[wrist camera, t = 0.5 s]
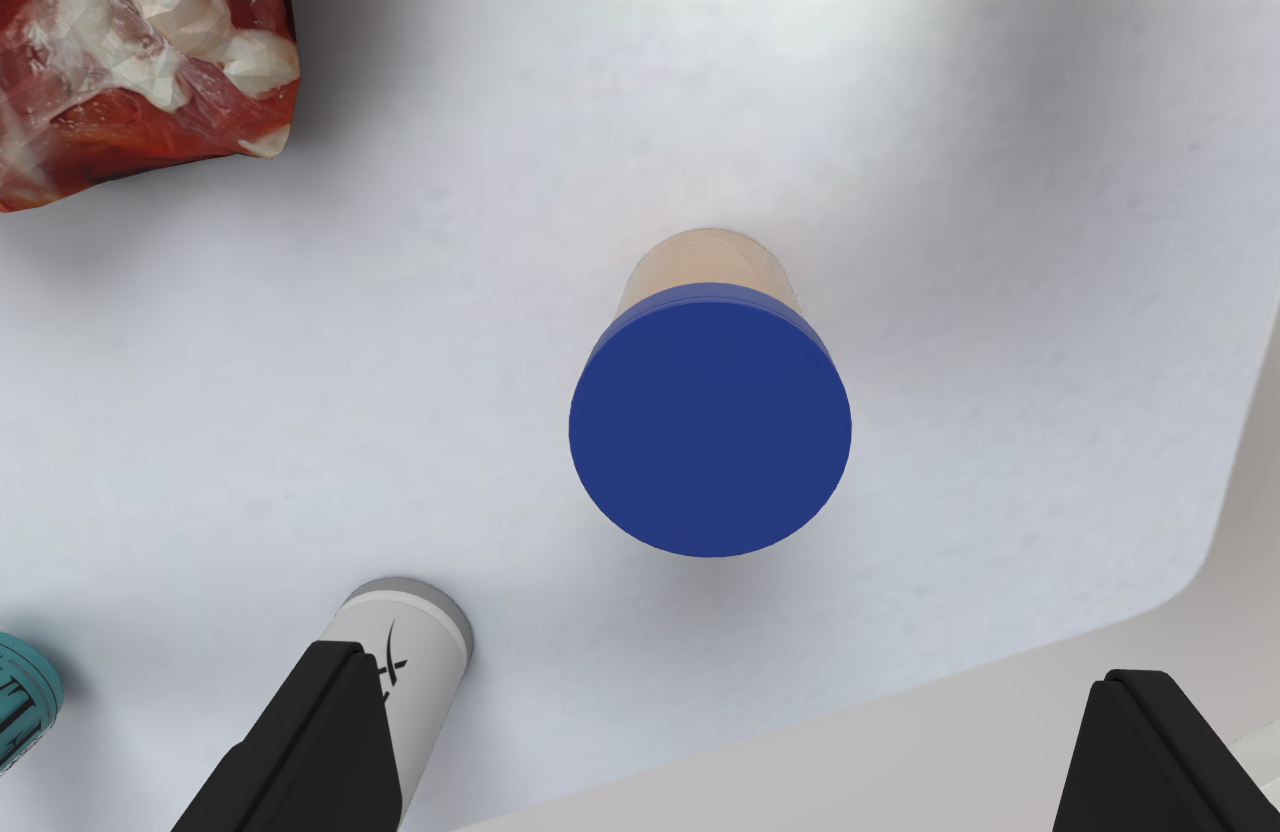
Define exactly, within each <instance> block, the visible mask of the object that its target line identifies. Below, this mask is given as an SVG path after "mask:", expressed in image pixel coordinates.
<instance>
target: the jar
mask: <svg viewBox="0 0 1280 832" xmlns="http://www.w3.org/2000/svg"><path fill="white" fill-rule="evenodd" d="M706 282H715V283H729V284H734V285H739V286H744V287H748V288H751V289H754V290H757V291H760V292H763V293H765V294H767V295H769V296H771V297H773V298H775V299H777V300H779V301H781V302H782V303H784V304H785V305H787V306H788V307H790V308H791V309H793V310H794V311H795V312H796V313H797V314H799V315H800V316H801V317H802V318H803V319H804V316H803V314H802V311H801V309H800V307H799V304H798V302H797V300H796V297H795V295H794V292H793V290H792V288H791V285H790V283H789V281H788V278H787V276H786V274H785V272H784V270H783V269H782V267H781V266H780V264H779V263H778V262H777V260H776V259H775V258H774V257H773V256H772V254H770V253H769V252H768V251H767V250H766V249H765V248H764V247H762V246H761V245H760V244H758V243H757V242H755V241H754V240H752V239H750V238H748V237H746V236H744V235H741V234H738V233H735V232H732V231H727V230H722V229H697V230H692V231H687V232H684V233H681V234H678V235H675V236H673V237H671V238H669V239H667V240H665V241H663V242H662V243H660V244H659V245H657V246H656V247H654V248H653V249H652V250H651V251H650V252H649V253H648V254H647V255H646V256H645V257H644V258H643V259H642V260H641V261H640V263H639V264H638V265H637V267H636V269H635V270H634V272H633V273H632V275H631V277H630V279H629V282H628V284H627V286H626V289H625V291H624V294H623V296H622V299H621V301H620V304H619V306H618V309H617V311H616V314H615V316H614V319H613V321H614V320H616V319H617V318H618V317H619V316H620V315H621V314H623V313H624V312H625V311H626V310H627V309H629V308H630V307H632V306H633V305H635V304H636V303H638V302H639V301H641V300H643V299H645V298H647V297H649V296H651V295H653V294H655V293H657V292H660V291H663V290H666V289H669V288H672V287H676V286H681V285H686V284H691V283H706ZM804 320H805V319H804ZM613 321H612V323H613Z"/></svg>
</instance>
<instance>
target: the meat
mask: <svg viewBox="0 0 1280 832" xmlns="http://www.w3.org/2000/svg"><path fill="white" fill-rule="evenodd" d="M300 78H301V76H300V66H299V56H298V48H297V41H296V33H295V26H294V18H293V10H292V3H291V0H0V212H2V213H9V212H14V211H20V210H25V209H31V208H36V207H41V206H44V205H47V204H49V203H52V202H55V201H57V200H60V199H63V198H65V197H68V196H70V195H73V194H76V193H78V192H81V191H83V190H85V189H88V188H90V187H92V186H95V185H97V184H100V183H103V182H107V181H111V180H117V179H121V178H125V177H129V176H132V175H136V174H140V173H144V172H148V171H151V170H156V169H161V168H166V167H171V166H176V165H180V164H185V163H190V162H195V161H200V160H205V159H211V158H218V157H226V156H230V155H234V154H240V155H244V156H250V157H257V158H265V159H272V158H274V157H275V156H277V155H278V154H280V153H281V152H282V151H283V148H284V146H285V143H286V141H287V139H288V136H289V133H290V127H291V122H292V116H293V110H294V105H295V99H296V95H297V91H298V86H299V82H300Z"/></svg>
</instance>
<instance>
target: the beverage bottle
mask: <svg viewBox="0 0 1280 832" xmlns="http://www.w3.org/2000/svg"><path fill="white" fill-rule="evenodd" d="M63 694H64V692H63V686H62V683H61V680H60V678H59V676H58V674H57V673H56V671H55V669H54V668H53V667H52V665H51V664H50V663H49V662H48V661H47V660H46V659H45V658H44V657H43V656H42V655H41V654H40V653H39V652H38V651H37V650H35V649H34V648H33V647H31V646H30V645H28V644H27V643H25V642H23V641H21V640H20V639H18V638H16V637H13V636H11V635H9V634H6V633H3V632H0V772H1V771H2V770H3V769H4V768H6V767H7V766H8V765H9V764H10V763H11V762H12V761H13V760H14V759H15V758H16V757H17V756H18V755H19V754H20V753H21V752H22V751H23V750H24V749H25V748H26V747H28V746H29V745H30V744H31V743H32V742H33V741H34V740H36V738H37V737H38V736H39V735H40V734H41V733H42V732H43V731H44V730H45V729H46V728H47V727H48V726H49V725H50V724H51V723H52V722H53V720H54V719H55V720H56V716H57V714H58V712H59V710H60V709H61V706H62V703H63ZM55 720H54V722H55ZM53 724H54V723H53ZM52 726H53V725H52ZM51 728H52V727H51ZM51 728H50V729H51ZM44 735H45V734H44ZM40 737H42V735H41V736H40ZM40 737H39V738H40ZM39 738H37V740H38V739H39ZM37 740H36V741H37ZM39 740H40V739H39ZM39 740H38V741H39ZM36 741H35V742H34V743H33V744H34V745H35V744H36ZM38 741H37V742H38ZM33 744H32V745H33ZM32 747H33V746H31V747H30V749H31V748H32ZM25 750H26V749H25ZM25 750H24V751H25ZM25 752H26V751H25ZM25 752H23V753H25ZM21 754H22V753H21ZM21 754H20V755H21ZM23 755H24V754H23ZM23 755H21V756H23ZM18 758H19V757H18ZM18 760H19V759H18ZM16 761H17V759H16V760H15V761H14V762H16ZM14 762H12V763H11V765H10V766H9V767H10V768H11V767H12V765H13V763H14ZM9 767H8V768H7V769H6V772H7V770H8V769H9ZM4 771H5V770H4ZM4 771H3V772H4ZM6 772H5V773H6ZM5 773H4V774H5ZM1 776H2V775H1Z"/></svg>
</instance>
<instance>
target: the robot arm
mask: <svg viewBox="0 0 1280 832" xmlns="http://www.w3.org/2000/svg"><path fill="white" fill-rule="evenodd" d="M402 803H403V800H402V792H401V787H400V782H399V776H398V771H397V766H396V761H395V755H394V750H393V745H392V739H391V734H390V729H389V724H388V718H387V713H386V708H385V703H384V697H383V692H382V687H381V681H380V676H379V671H378V666H377V661H376V658H375V656H374V655H373V654H371V653H365V651H364V648H363V646H362V645H361V643H360V642H354V641H327V640H317V641H315V642H313V643H312V644H311V645H310V646H309V647H308V648H307V650H306V651H305V653H304V654H303V656H302V657H301V659H300V660H299V661H298V663H297V664H296V666H295V667H294V669H293V670H292V671H291V673H290V674H289V676H288V677H287V679H286V680H285V681H284V683H283V684H282V686H281V687H280V689H279V690H278V691H277V693H276V694H275V696H274V697H273V699H272V700H271V701H270V703H269V704H268V706H267V707H266V709H265V710H264V712H263V713H262V714H261V716H260V717H259V719H258V720H257V722H256V723H255V724H254V726H253V727H252V729H251V730H250V732H249V733H248V734H247V736H246V737H245V739H244V740H243V742H240V743H238V744H237V745H235V746H233V747H232V748H231V749H230V750H229V751H228V753H227V754H226V755H225V756H224V757H223V758H222V760H221V761H220V763H219V764H218V765H217V767H216V768H215V770H214V771H213V772H212V774H211V775H210V777H209V778H208V779H207V781H206V782H205V784H204V785H203V786H202V788H201V789H200V791H199V792H198V793H197V795H196V796H195V798H194V799H193V801H192V802H191V803H190V805H189V806H188V808H187V809H186V810H185V812H184V813H183V815H182V816H181V817H180V819H179V820H178V822H177V823H176V824H175V826H174V827H173V829H172V830H171V831H170V832H396V831H397V829H398V826H399V823H400V818H401V814H402ZM1052 832H1280V812H1279V811H1278V810H1277V809H1276V808H1275V807H1274V806H1273V805H1272V804H1271V803H1270V802H1269V800H1268V799H1267V798H1266V797H1265V795H1264V794H1263V793H1262V791H1261V790H1260V789H1259V788H1258V786H1257V785H1256V784H1255V783H1254V781H1253V780H1252V779H1251V777H1250V776H1249V775H1248V774H1247V772H1246V771H1245V770H1244V769H1243V767H1242V766H1241V765H1240V764H1239V762H1238V761H1237V760H1236V758H1235V757H1234V756H1233V755H1232V753H1231V752H1230V751H1229V750H1228V748H1227V747H1226V746H1225V744H1224V743H1223V742H1222V741H1221V739H1220V738H1219V737H1218V736H1217V734H1216V733H1215V732H1214V731H1213V729H1212V728H1211V727H1210V725H1209V724H1208V723H1207V722H1206V720H1205V719H1204V718H1203V717H1202V715H1201V714H1200V713H1199V712H1198V710H1197V709H1196V708H1195V706H1194V705H1193V704H1192V703H1191V701H1190V700H1189V699H1188V698H1187V696H1186V695H1185V694H1184V692H1183V691H1182V690H1181V689H1180V687H1179V686H1178V685H1177V684H1176V682H1175V681H1174V680H1173V679H1172V678H1171V677H1170V676H1169V675H1168V674H1167V673H1164V672H1162V671H1152V670H1125V669H1114V670H1110V671H1109V672H1108V673H1107V674H1106V676H1105V679H1104V681H1095V682H1094V683H1093V685H1092V687H1091V689H1090V693H1089V697H1088V701H1087V704H1086V708H1085V712H1084V716H1083V719H1082V723H1081V727H1080V730H1079V734H1078V738H1077V741H1076V745H1075V749H1074V752H1073V756H1072V760H1071V763H1070V767H1069V771H1068V775H1067V778H1066V782H1065V786H1064V789H1063V793H1062V797H1061V800H1060V804H1059V808H1058V811H1057V815H1056V819H1055V823H1054V826H1053V831H1052Z"/></svg>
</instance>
